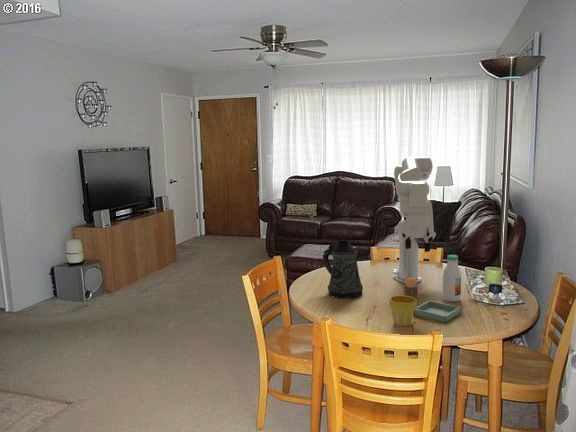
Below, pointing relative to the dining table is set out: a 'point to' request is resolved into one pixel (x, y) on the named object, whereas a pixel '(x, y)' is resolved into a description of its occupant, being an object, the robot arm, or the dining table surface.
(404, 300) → the plant pot
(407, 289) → the wooden box
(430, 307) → the tray
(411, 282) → the ball
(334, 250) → the beer stein
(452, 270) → the milk bottle
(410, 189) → the robot arm
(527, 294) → the dining table surface
